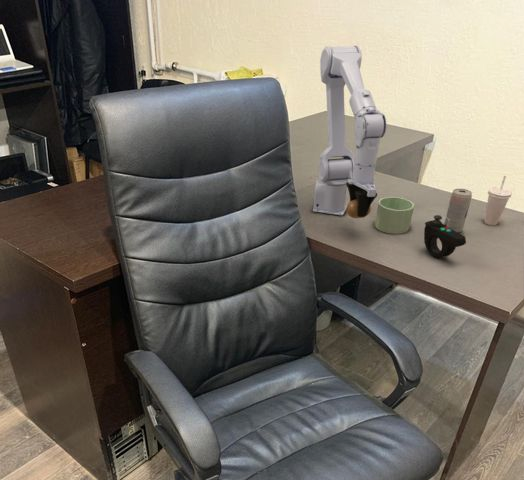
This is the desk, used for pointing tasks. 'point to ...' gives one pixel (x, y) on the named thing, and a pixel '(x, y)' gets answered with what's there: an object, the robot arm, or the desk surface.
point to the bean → (354, 209)
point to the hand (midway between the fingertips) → (358, 212)
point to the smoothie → (496, 203)
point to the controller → (441, 238)
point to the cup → (394, 215)
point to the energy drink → (458, 209)
